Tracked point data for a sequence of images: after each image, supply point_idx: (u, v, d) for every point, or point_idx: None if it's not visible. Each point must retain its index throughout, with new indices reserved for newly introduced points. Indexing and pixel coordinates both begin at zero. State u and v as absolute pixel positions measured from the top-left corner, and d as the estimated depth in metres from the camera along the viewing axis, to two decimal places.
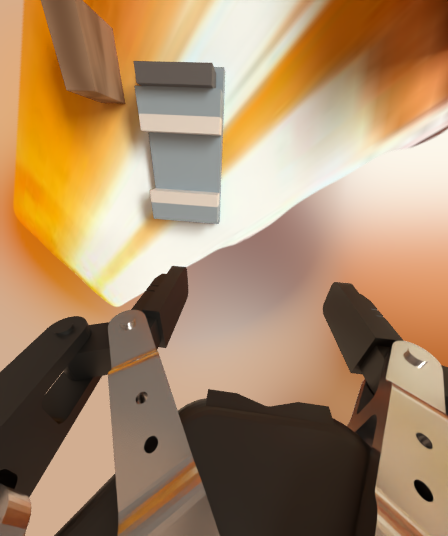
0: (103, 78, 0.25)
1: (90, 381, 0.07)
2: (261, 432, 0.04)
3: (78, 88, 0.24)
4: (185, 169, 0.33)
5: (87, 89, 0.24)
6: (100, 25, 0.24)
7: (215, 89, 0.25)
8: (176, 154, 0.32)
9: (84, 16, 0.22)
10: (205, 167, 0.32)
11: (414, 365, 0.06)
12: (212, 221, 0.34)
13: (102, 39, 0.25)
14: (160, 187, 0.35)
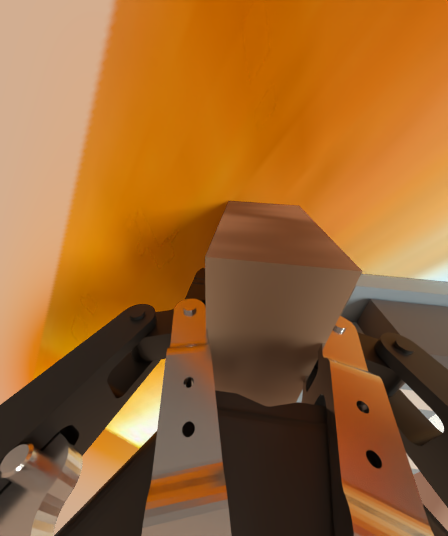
0: None
1: (147, 367, 0.07)
2: (261, 432, 0.04)
3: None
4: None
5: None
6: None
7: None
8: None
9: None
10: None
11: (333, 331, 0.07)
12: None
13: None
14: None
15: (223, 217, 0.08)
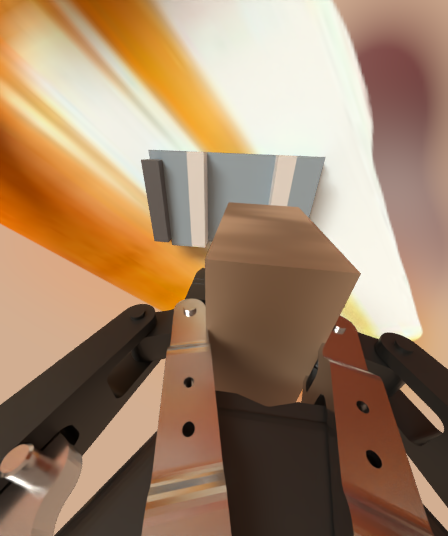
0: None
1: (147, 367, 0.07)
2: (261, 432, 0.04)
3: None
4: None
5: None
6: None
7: (163, 157, 0.22)
8: None
9: None
10: (242, 176, 0.25)
11: (333, 331, 0.07)
12: (319, 165, 0.21)
13: None
14: None
15: (223, 219, 0.08)
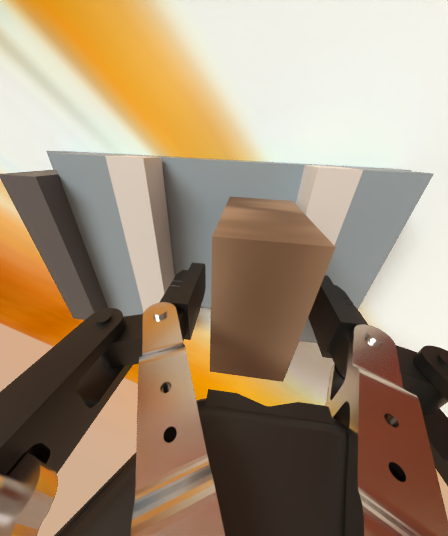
0: None
1: (120, 371, 0.07)
2: (261, 432, 0.04)
3: (241, 374, 0.10)
4: None
5: (264, 378, 0.10)
6: None
7: (57, 168, 0.10)
8: (209, 267, 0.15)
9: None
10: None
11: (370, 344, 0.06)
12: (414, 192, 0.09)
13: None
14: None
15: (225, 209, 0.09)
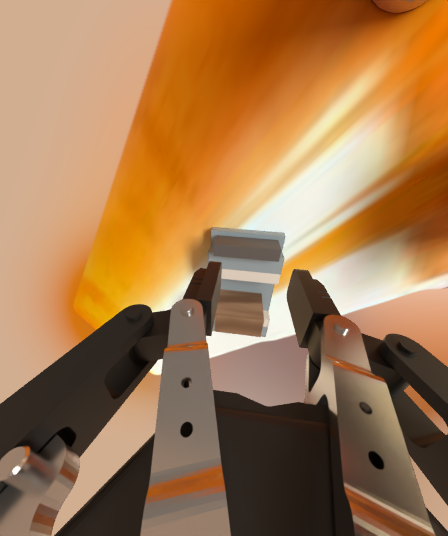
0: None
1: (144, 367, 0.07)
2: (261, 432, 0.04)
3: (216, 322, 0.32)
4: None
5: (215, 327, 0.33)
6: None
7: (279, 258, 0.29)
8: (233, 285, 0.36)
9: None
10: None
11: (337, 332, 0.07)
12: (261, 335, 0.39)
13: None
14: None
15: (262, 305, 0.34)
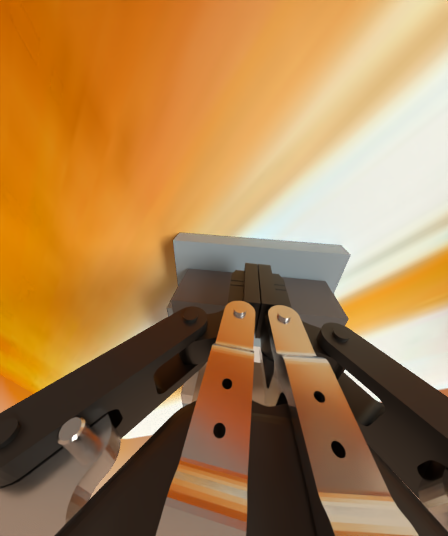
0: None
1: (190, 370, 0.07)
2: (261, 432, 0.04)
3: None
4: None
5: None
6: None
7: None
8: None
9: None
10: None
11: (277, 321, 0.07)
12: None
13: None
14: None
15: None
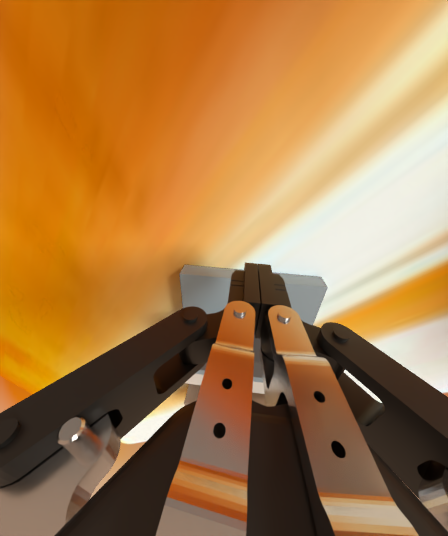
0: None
1: (190, 370, 0.07)
2: (261, 432, 0.04)
3: None
4: None
5: None
6: None
7: None
8: None
9: None
10: None
11: (277, 321, 0.07)
12: None
13: None
14: None
15: None
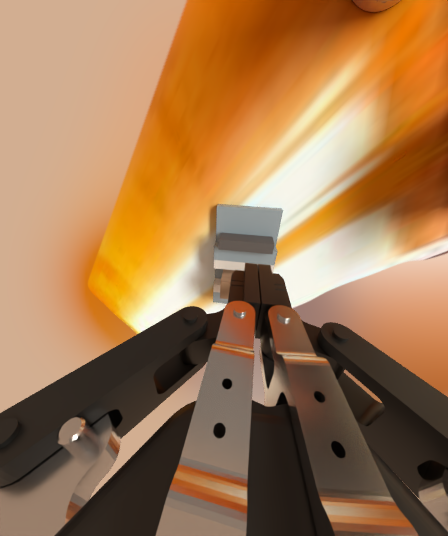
0: None
1: (190, 370, 0.07)
2: (261, 432, 0.04)
3: (221, 289, 0.36)
4: None
5: (220, 294, 0.36)
6: None
7: (273, 252, 0.35)
8: None
9: None
10: None
11: (277, 321, 0.07)
12: None
13: None
14: (219, 278, 0.43)
15: None
